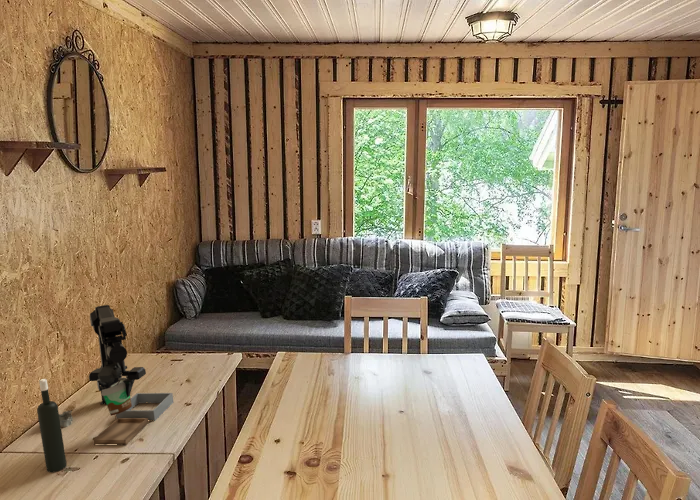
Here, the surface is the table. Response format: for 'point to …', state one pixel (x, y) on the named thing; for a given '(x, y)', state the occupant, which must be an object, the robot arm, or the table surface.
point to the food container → (117, 397)
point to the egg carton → (65, 418)
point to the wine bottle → (50, 431)
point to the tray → (121, 431)
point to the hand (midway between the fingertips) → (120, 396)
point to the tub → (161, 398)
